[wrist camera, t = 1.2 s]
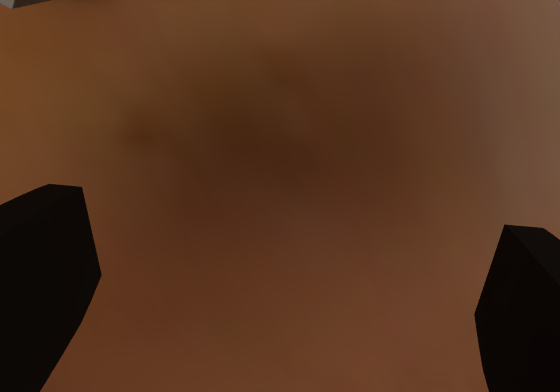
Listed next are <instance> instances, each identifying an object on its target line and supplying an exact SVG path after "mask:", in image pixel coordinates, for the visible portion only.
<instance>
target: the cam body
mask: <svg viewBox="0 0 560 392" xmlns="http://www.w3.org/2000/svg"><path fill="white" fill-rule="evenodd" d="M46 1H50V0H0V3H1V4H3V5H5V6H7V7H9V8H11V9H13V8H18V7H23V6H27V5H32V4H36V3H41V2H46Z"/></svg>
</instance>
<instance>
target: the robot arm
mask: <svg viewBox="0 0 560 392" xmlns="http://www.w3.org/2000/svg"><path fill="white" fill-rule="evenodd" d="M100 278H101V270H100V266H99V261H98V257H97V252H96V248H95V243H94V239H93V235H92V230H91V226H90V221H89V217H88V212H87V208H86V203H85V199H84V194H83V190H82V187H77V186H66V185H55V184H48V185H45V186H42V187H40V188H37V189H35V190H32V191H30V192H28V193H25V194H23V195H21V196H19V197H16V198H14V199H12V200H10V201H8V202H6V203H4V204H2V205H0V392H40V390H41V389H42V387H43V386H44V384H45V382H46V381H47V379H48V377H49V376H50V374H51V373H52V371H53V369H54V368H55V366H56V364H57V363H58V361H59V359H60V358H61V356H62V354H63V353H64V351H65V349H66V348H67V346H68V344H69V343H70V341H71V339H72V338H73V336H74V334H75V333H76V331H77V329H78V327H79V326H80V324H81V322H82V320H83V317H84V315H85V313H86V311H87V309H88V306H89V304H90V302H91V300H92V297H93V295H94V292H95V290H96V288H97V285H98V283H99V280H100ZM474 315H475V322H476V329H477V336H478V343H479V349H480V355H481V361H482V367H483V372H484V375H485V379H486V383H487V386H488V390H489V392H560V240H559V239H558V238H557V237H555V236H554V235H553V234H551V233H550V232H548V231H547V230H546V229H544V228H537V227H526V226H514V225H504V228H503V231H502V234H501V237H500V240H499V242H498V245H497V248H496V251H495V254H494V257H493V260H492V263H491V266H490V269H489V272H488V275H487V278H486V281H485V284H484V287H483V290H482V293H481V296H480V299H479V302H478V305H477V308H476V311H475V314H474Z"/></svg>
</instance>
